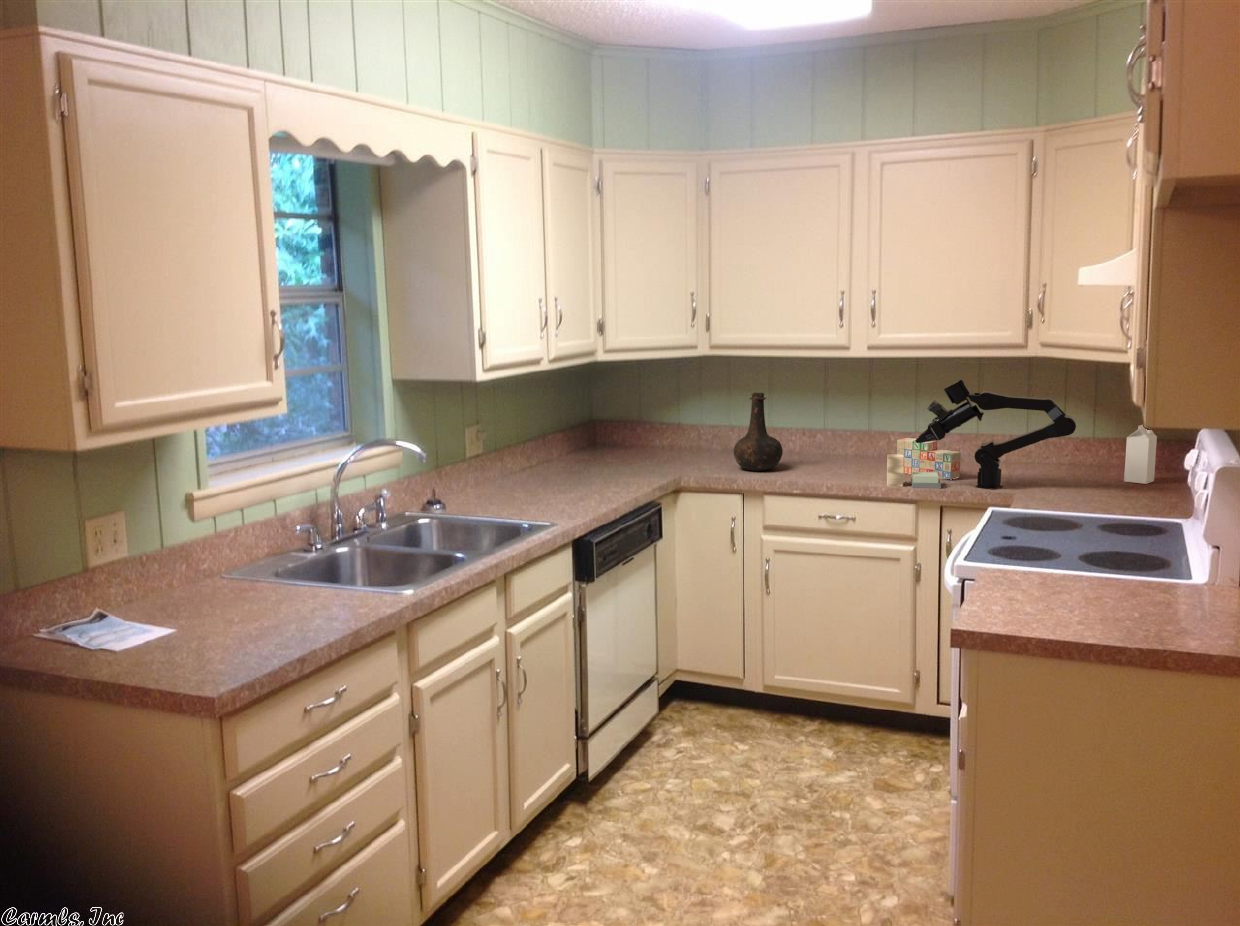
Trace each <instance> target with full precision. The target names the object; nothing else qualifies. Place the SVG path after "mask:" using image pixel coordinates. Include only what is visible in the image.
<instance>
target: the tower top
mask: <svg viewBox="0 0 1240 926" xmlns="http://www.w3.org/2000/svg"><path fill="white" fill-rule="evenodd" d="M911 478H912V480H913V483H938V474H937V472H912V475H911Z"/></svg>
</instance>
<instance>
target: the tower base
mask: <svg viewBox="0 0 1240 926" xmlns="http://www.w3.org/2000/svg"><path fill="white" fill-rule="evenodd" d="M910 484H912V485H911V488H912V489H929V490H930V489H933V490H935V489H936V490H938V489H939V490H940V489H942V483H941V479H938V483H913V480H912V477H911V478H910Z"/></svg>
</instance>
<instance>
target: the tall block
mask: <svg viewBox="0 0 1240 926" xmlns="http://www.w3.org/2000/svg"><path fill="white" fill-rule="evenodd" d="M903 458H904V457H903V454H897V453H896V454H895V453H894V454H893V453H892V454H891V453H890V454H889V453H888V454H887V458H886V459H887V460H886V462H887V463H886V486H887V487H893V486H894V487H893V488H895V487H896V488H897V487H898V488H899V487H901V488H903V487H904V474H903Z"/></svg>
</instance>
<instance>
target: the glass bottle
mask: <svg viewBox="0 0 1240 926" xmlns="http://www.w3.org/2000/svg"><path fill="white" fill-rule="evenodd" d="M766 399H767V398H766V397H765V392H751V397H750V398H749V400H751V405H750V406H751V409H750V419H749V425H748V429H747V433H746V434H745V435H744V436H743V437H742V438H740V439H739V440H738V441H737V442H736V443H735V445H734V448H733V456H734V460H735V461H736V463H737V464H738V465H739V466H740V467H741V468H743V469H744V470H747V471H750V470H751V472H763V471H764V472H765V471H769V470H771V469H774V468H775V467H776V466H777V465H778V464H779V463H780V461H781V460H782V456H783V452H784V450H783V446H782V444H781V442H780V441H779V440H778V439H776V438H775V437H773V436H770V435H769V433H768V432H767V428H766V419H765V418H766V417H765V402H764V401H765V400H766Z"/></svg>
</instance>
